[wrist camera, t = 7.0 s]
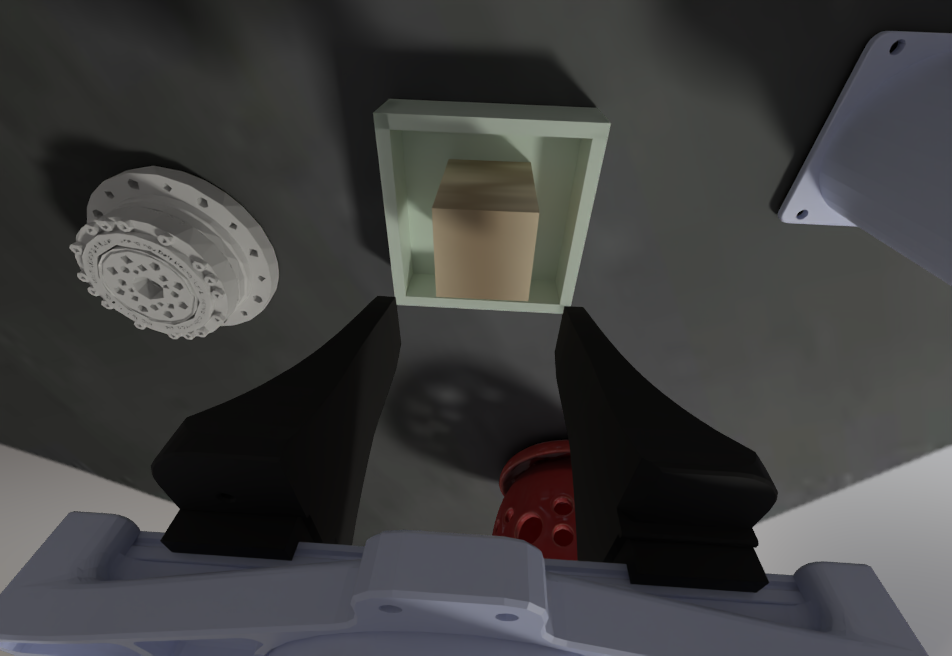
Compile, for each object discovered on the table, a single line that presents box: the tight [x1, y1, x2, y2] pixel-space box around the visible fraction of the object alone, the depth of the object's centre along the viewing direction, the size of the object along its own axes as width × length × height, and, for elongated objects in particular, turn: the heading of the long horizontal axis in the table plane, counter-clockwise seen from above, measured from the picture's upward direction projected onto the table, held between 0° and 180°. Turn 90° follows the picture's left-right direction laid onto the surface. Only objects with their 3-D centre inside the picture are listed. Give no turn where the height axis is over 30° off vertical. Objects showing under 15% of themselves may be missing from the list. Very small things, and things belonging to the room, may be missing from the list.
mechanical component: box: [69, 166, 279, 340], centre depth 23 cm, size 10×4×10 cm
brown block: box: [432, 159, 539, 301], centre depth 19 cm, size 4×4×6 cm
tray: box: [373, 99, 611, 314], centre depth 20 cm, size 10×10×3 cm
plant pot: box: [492, 439, 578, 561], centre depth 33 cm, size 13×13×12 cm
